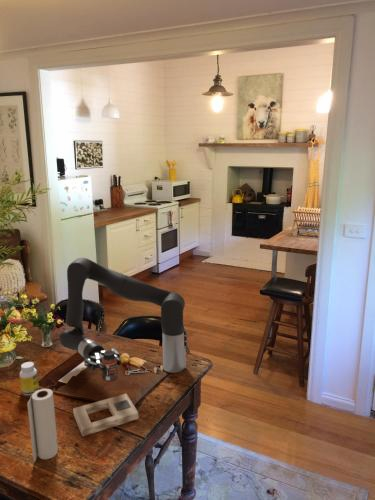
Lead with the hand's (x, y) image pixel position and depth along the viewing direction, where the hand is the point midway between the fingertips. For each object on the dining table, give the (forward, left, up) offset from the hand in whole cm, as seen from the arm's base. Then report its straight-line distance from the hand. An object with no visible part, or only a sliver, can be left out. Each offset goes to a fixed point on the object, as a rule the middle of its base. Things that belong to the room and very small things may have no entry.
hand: (113, 366), depth 157 cm
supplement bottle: (+1, -2, -7) cm, 7 cm away
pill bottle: (+29, -17, -13) cm, 36 cm away
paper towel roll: (+29, +21, -13) cm, 38 cm away
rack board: (+7, +12, -12) cm, 18 cm away
